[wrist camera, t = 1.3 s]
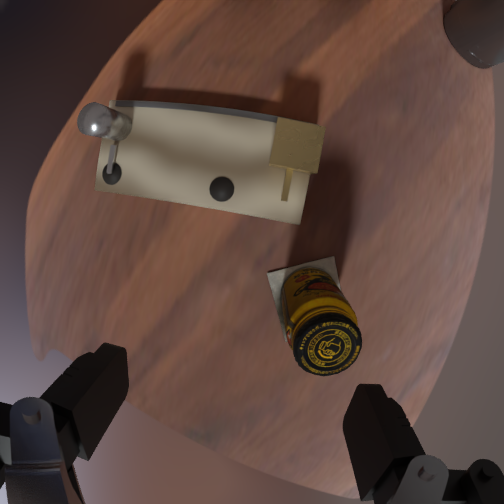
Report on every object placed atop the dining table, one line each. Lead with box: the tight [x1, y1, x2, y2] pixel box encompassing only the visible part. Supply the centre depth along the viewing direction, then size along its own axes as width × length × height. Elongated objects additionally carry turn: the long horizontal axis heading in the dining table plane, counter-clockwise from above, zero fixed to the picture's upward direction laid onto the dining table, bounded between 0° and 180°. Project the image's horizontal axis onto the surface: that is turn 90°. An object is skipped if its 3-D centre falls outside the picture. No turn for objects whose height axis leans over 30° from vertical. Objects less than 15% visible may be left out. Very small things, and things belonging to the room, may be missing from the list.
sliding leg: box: [269, 117, 326, 202], centre depth 26 cm, size 7×4×4 cm, turn 170°
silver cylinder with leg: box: [77, 102, 132, 174], centre depth 25 cm, size 6×3×6 cm, turn 170°
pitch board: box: [95, 100, 319, 225], centre depth 29 cm, size 10×22×2 cm, turn 80°
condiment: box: [267, 256, 362, 376], centre depth 27 cm, size 7×8×12 cm
